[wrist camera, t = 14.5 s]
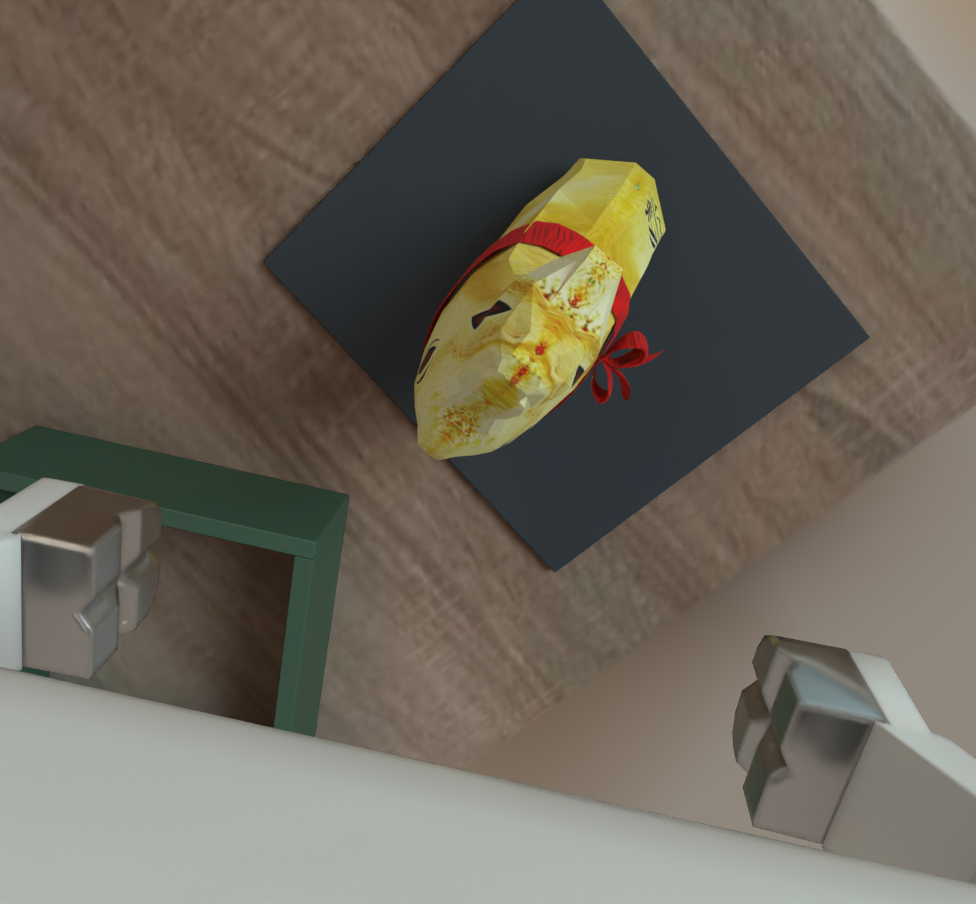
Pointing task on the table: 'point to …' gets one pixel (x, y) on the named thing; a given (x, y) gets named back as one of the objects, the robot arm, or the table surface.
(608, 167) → the chocolate bunny
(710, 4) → the table surface
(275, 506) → the crate
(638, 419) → the mat
